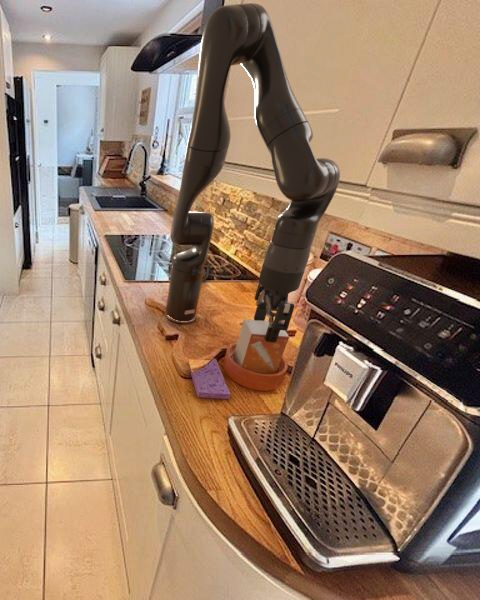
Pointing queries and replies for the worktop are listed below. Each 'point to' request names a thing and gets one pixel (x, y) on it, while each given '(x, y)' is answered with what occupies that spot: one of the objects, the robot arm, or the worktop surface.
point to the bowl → (253, 373)
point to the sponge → (210, 382)
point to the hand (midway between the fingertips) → (263, 330)
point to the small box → (259, 348)
